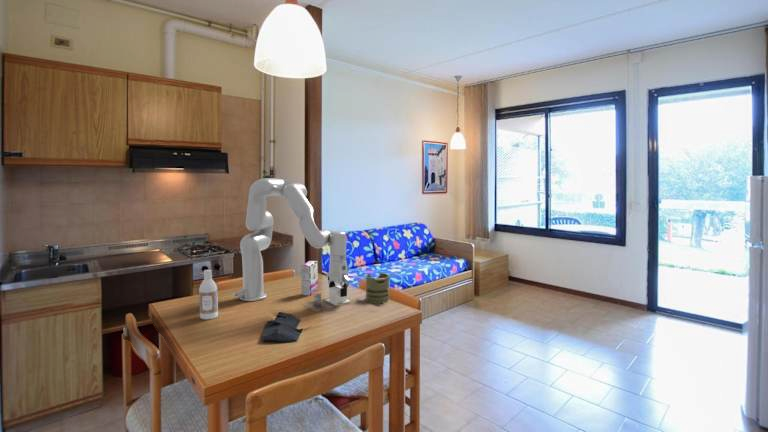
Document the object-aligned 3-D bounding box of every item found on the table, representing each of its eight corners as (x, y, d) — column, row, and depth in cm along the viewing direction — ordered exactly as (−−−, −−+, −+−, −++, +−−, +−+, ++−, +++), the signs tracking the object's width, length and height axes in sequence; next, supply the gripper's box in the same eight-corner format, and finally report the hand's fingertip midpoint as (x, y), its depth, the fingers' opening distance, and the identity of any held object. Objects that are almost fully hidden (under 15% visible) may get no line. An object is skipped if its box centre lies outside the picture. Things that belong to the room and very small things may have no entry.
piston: (363, 273, 193) (385, 272, 196) (363, 297, 194) (384, 295, 197) (369, 279, 182) (392, 277, 185) (369, 304, 183) (392, 302, 186)
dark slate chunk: (254, 344, 138) (254, 331, 137) (268, 322, 160) (268, 311, 159) (298, 343, 139) (298, 331, 138) (306, 321, 161) (305, 310, 160)
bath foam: (198, 320, 159) (196, 272, 157) (202, 314, 166) (200, 268, 164) (216, 319, 161) (214, 271, 159) (219, 313, 168) (218, 268, 166)
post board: (315, 315, 167) (315, 300, 166) (300, 307, 177) (299, 293, 177) (357, 305, 181) (357, 291, 180) (340, 298, 192) (340, 285, 191)
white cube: (346, 300, 182) (346, 287, 181) (335, 303, 178) (335, 290, 177) (339, 297, 186) (339, 285, 186) (328, 300, 183) (328, 287, 182)
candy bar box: (309, 291, 202) (309, 260, 201) (318, 292, 201) (318, 260, 200) (301, 297, 191) (300, 265, 190) (310, 298, 190) (310, 265, 189)
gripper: (355, 260, 176) (355, 296, 178) (334, 254, 189) (334, 288, 191) (341, 262, 171) (341, 299, 173) (321, 255, 185) (321, 291, 186)
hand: (337, 293), depth 182 cm, fingers open, 9 cm apart
